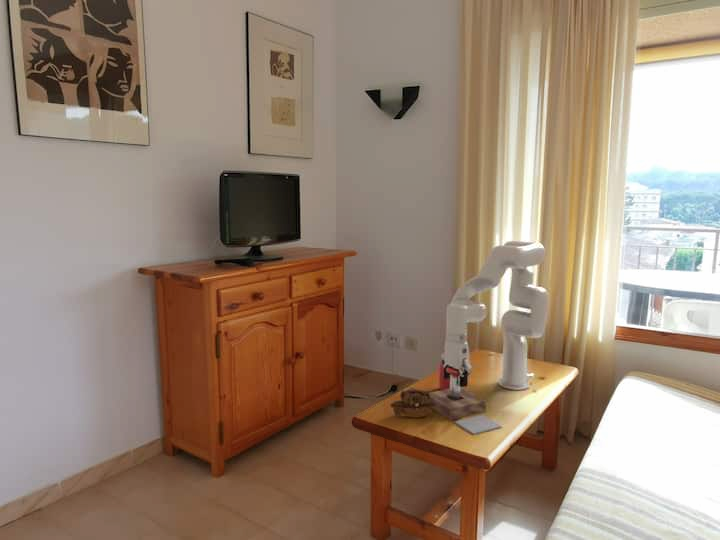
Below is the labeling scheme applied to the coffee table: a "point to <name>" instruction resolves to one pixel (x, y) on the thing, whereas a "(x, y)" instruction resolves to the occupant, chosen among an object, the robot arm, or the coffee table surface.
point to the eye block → (457, 404)
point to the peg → (454, 383)
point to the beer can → (443, 379)
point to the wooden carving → (413, 403)
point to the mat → (478, 424)
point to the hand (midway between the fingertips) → (455, 382)
